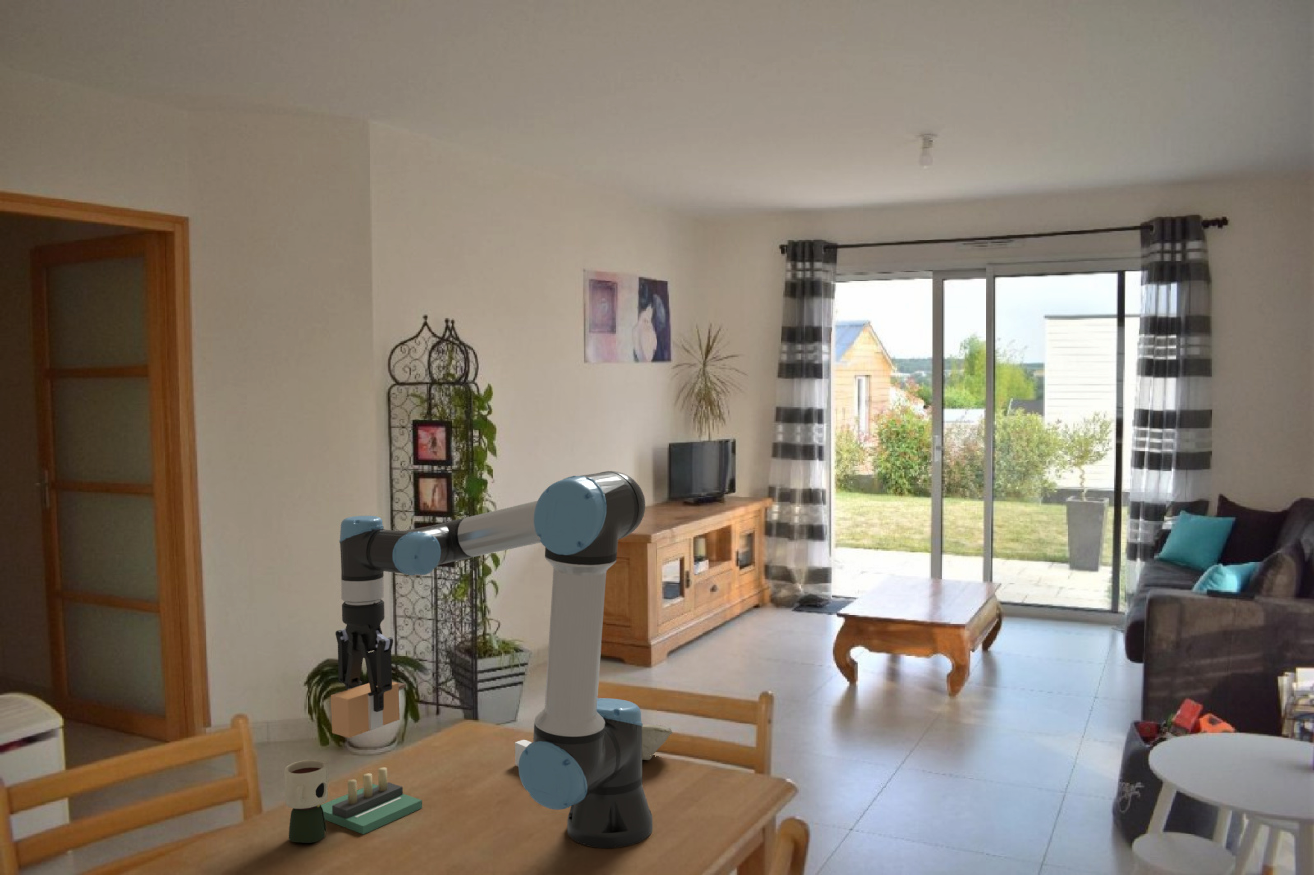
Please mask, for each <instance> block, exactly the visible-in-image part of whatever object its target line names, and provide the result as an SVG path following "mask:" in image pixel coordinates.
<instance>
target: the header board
mask: <svg viewBox="0 0 1314 875" xmlns="http://www.w3.org/2000/svg"><path fill="white" fill-rule="evenodd" d="M377 771H378V772H377V774H378V775H377V776H378V784H375V783H373V774H372V773H371V772H369V773H364V774H363V775H362V780H363V784H362V788H360V789H358V781H357V779H354V778H353V779H348V780H347V793H346V794H345V795H342V796H339V797H337V798H335V799H333V800H329V801H326V802H324V803H322V804H320V805H321V806H322V808H323V813H324V818H325V821H327V822H330V823H332V824H335V825H338V826H340V827H343V828H345V827H346V829H348V830H350V831H353V832H356V833H359V834H361V835H365V834H368V833H370V832H372V831H374V830H376V829H378V828H381V827H384V826H385V825H387V824H389V823H392V822H395V821H396V820H398V819H400V818H404V817H406V816H407V815H410V814H412V813H414V812H417V811H418V810H419V811H420V810H421V809H423V800H422V799H420V798H418V797H413V796H411V795H408V794H405V793H404V791H403V788H404V787H403V786H401V785H397V784H395V783H393V782H389V781H388V767H386V766H385V767H379V768H378V769H377Z"/></svg>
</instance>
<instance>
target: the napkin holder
mask: <svg viewBox="0 0 1314 875" xmlns="http://www.w3.org/2000/svg"><path fill="white" fill-rule="evenodd" d="M530 743H533V741H529V740H526V739H521V740H518V741H515V742H514V749H515V750H514V754H515V759H514V760H515V762H514V763H515V766H516V765H517V766H516V767H518V765H519V759H520V756H521V754H522V752H523V751H524V750H525V748H526V747H527V746H528V745H529V744H530Z"/></svg>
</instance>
